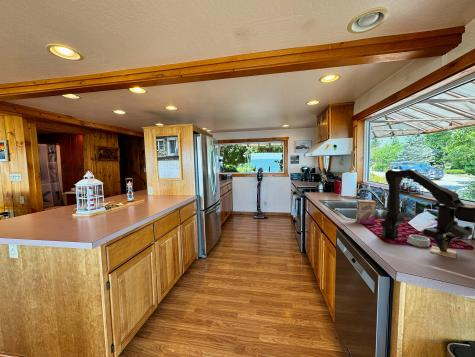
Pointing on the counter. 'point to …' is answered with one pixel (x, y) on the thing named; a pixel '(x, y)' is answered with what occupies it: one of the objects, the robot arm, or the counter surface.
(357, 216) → the candy bar box
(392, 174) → the robot arm
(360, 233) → the counter surface
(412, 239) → the bowl
